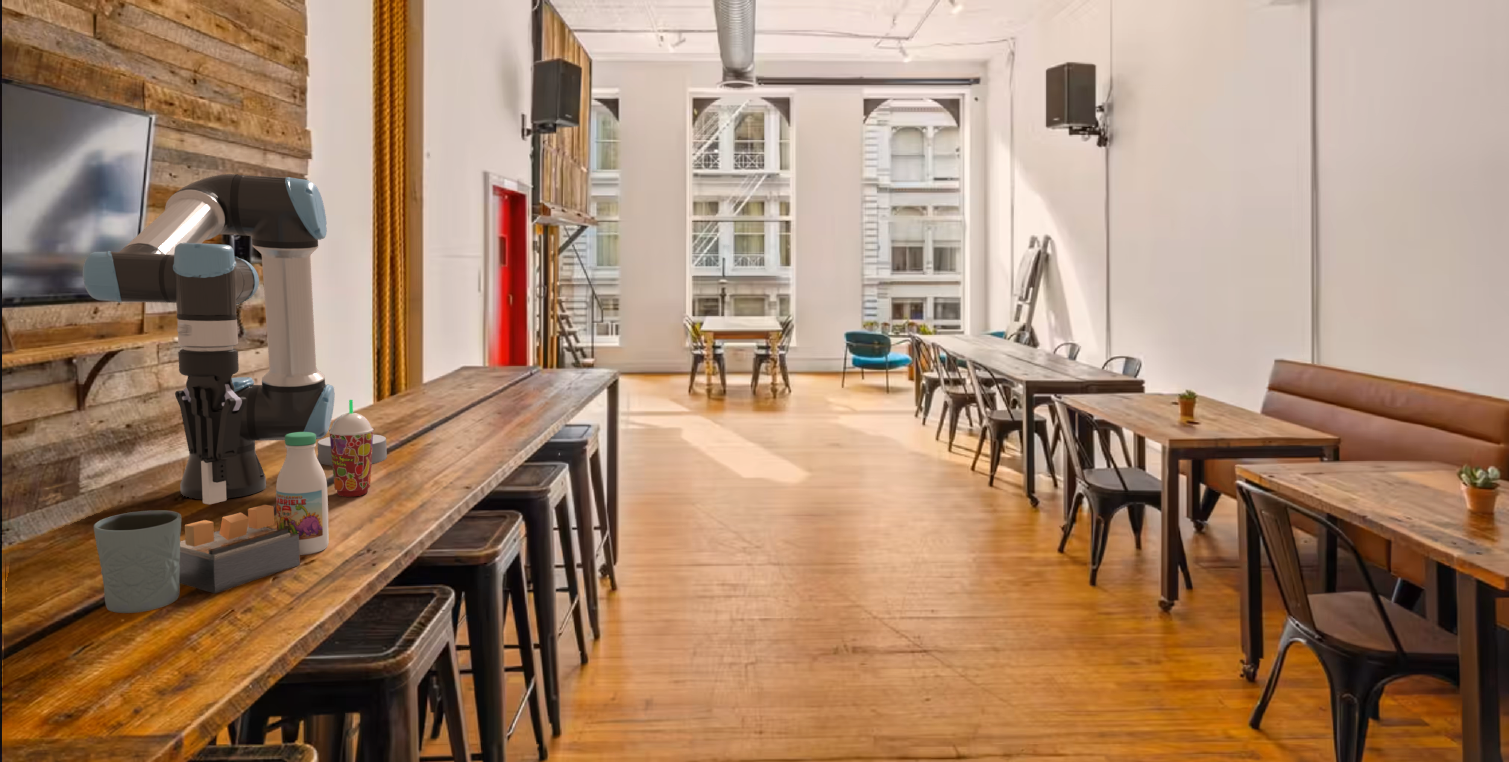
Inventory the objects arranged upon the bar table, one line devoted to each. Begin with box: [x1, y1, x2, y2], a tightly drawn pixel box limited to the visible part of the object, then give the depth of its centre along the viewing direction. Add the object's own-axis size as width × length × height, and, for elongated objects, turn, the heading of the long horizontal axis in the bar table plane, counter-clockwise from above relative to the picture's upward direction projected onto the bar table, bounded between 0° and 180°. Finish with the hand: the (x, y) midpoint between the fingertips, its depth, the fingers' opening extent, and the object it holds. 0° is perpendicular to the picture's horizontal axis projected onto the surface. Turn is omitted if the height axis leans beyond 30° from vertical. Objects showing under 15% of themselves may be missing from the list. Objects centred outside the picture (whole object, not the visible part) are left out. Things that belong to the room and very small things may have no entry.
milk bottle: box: [275, 432, 330, 556], centre depth 144 cm, size 8×8×20 cm
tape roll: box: [317, 434, 388, 467], centre depth 209 cm, size 15×15×5 cm
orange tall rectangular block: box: [184, 519, 215, 547], centre depth 128 cm, size 2×3×3 cm, turn 156°
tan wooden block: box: [247, 504, 275, 529], centre depth 137 cm, size 2×3×3 cm, turn 156°
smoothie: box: [328, 399, 375, 498], centre depth 178 cm, size 8×8×20 cm
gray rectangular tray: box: [179, 525, 301, 594], centre depth 133 cm, size 12×14×6 cm
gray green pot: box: [93, 509, 182, 614], centre depth 121 cm, size 10×10×12 cm
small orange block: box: [219, 512, 249, 540], centre depth 133 cm, size 2×3×3 cm, turn 158°
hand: (214, 501), depth 130 cm, fingers closed
